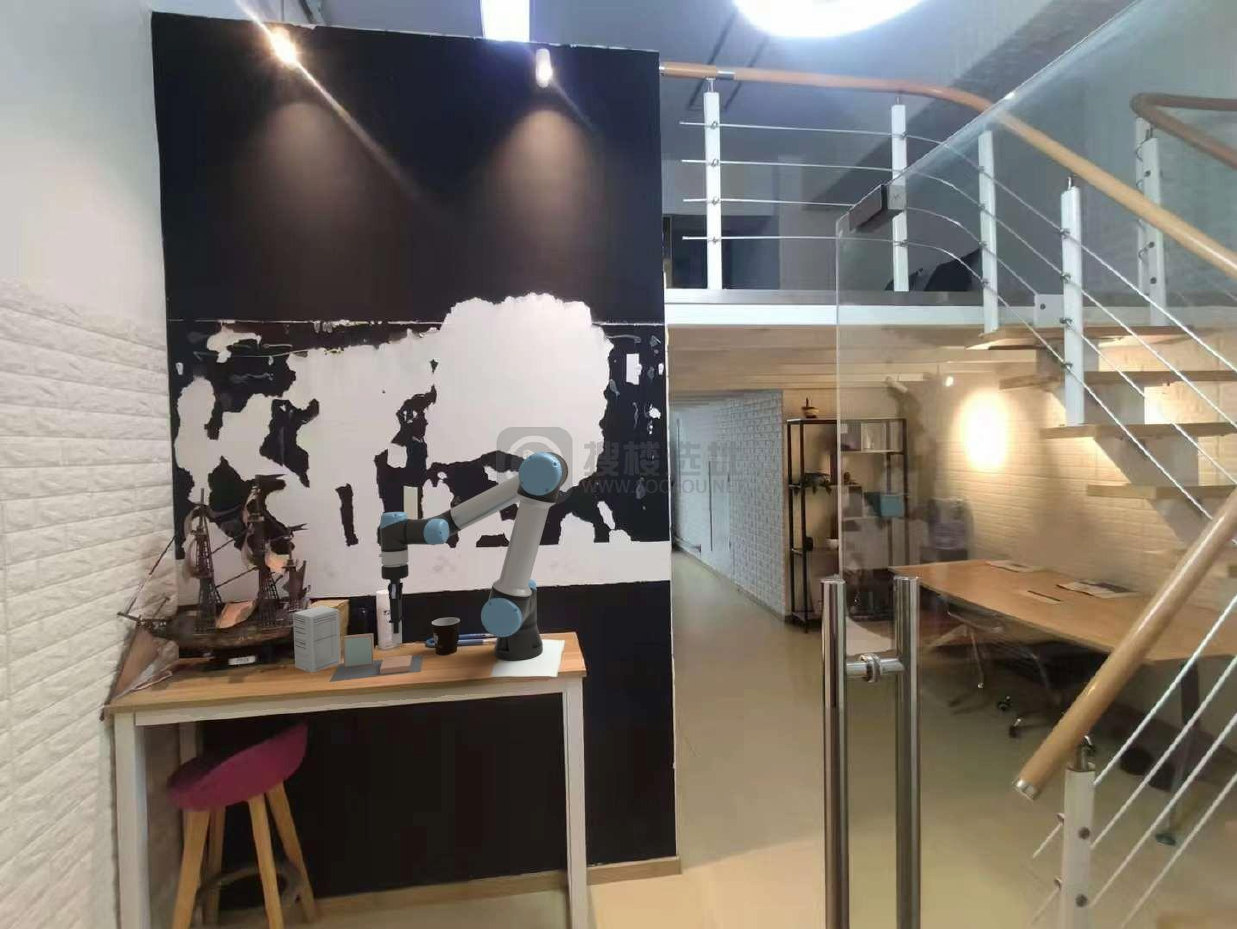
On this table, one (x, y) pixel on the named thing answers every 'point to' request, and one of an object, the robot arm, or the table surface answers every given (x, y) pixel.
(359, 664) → the tile
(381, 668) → the tile
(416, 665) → the mat
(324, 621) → the supplement box
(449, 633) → the coffee mug
